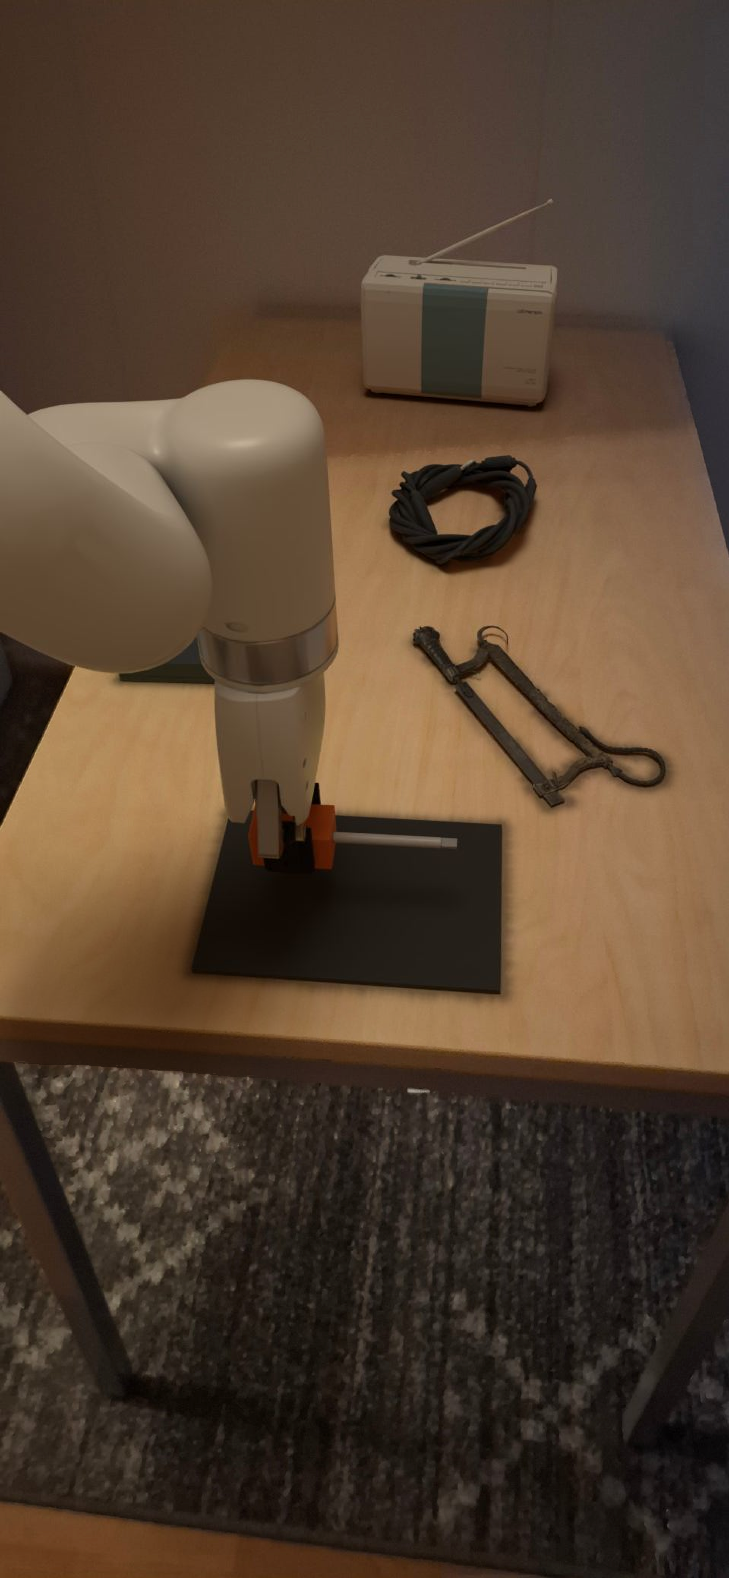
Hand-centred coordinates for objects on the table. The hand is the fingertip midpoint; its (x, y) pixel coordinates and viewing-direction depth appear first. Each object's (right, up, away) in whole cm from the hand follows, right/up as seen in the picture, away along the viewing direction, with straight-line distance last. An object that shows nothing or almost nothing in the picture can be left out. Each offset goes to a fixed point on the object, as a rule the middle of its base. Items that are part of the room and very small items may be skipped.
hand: (294, 845), depth 69 cm
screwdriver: (+4, -1, 0) cm, 4 cm away
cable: (+14, +30, +34) cm, 48 cm away
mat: (+4, -4, +3) cm, 6 cm away
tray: (-8, +20, +25) cm, 33 cm away
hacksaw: (+18, +11, +16) cm, 27 cm away
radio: (+15, +50, +53) cm, 75 cm away
